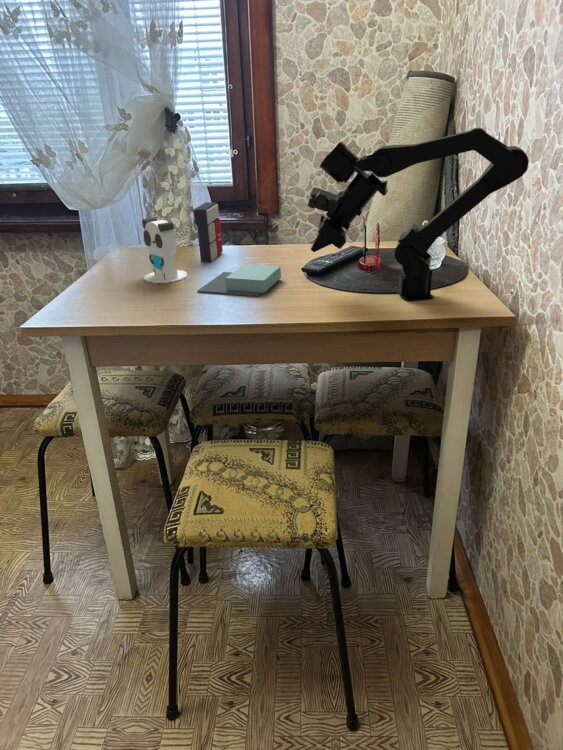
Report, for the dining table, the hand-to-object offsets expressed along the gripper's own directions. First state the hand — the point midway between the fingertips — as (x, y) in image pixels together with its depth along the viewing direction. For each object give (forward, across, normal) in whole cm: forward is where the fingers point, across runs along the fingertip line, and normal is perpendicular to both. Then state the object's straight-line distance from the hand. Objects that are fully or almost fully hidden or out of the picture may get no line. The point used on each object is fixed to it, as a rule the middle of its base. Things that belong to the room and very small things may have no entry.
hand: (312, 250), depth 133 cm
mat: (+20, -3, -8) cm, 22 cm away
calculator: (+31, -28, -17) cm, 45 cm away
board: (+13, -2, -3) cm, 13 cm away
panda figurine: (+34, -9, -25) cm, 43 cm away
